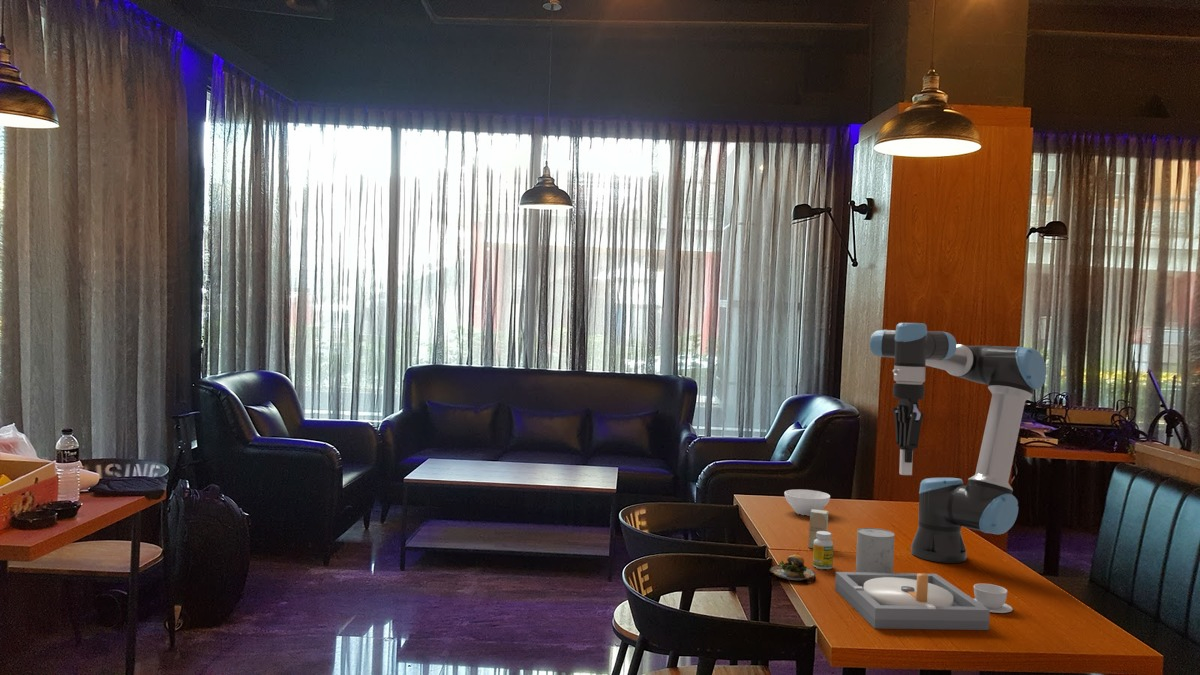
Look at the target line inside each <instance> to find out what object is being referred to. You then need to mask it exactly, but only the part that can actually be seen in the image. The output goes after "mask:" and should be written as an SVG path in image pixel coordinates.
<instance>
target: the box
mask: <svg viewBox="0 0 1200 675" xmlns="http://www.w3.org/2000/svg"><path fill="white" fill-rule="evenodd" d="M828 526H829V510H824V509H822V510H816V509H812V510H811V512H810V516H809V526H808V527H809V528H808V546H807V547H808V548H810V549H813V545H814V540H815V539H817V537H816V532H818V531H826V532H828V529H829V528H828Z"/></svg>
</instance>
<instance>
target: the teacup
mask: <svg viewBox="0 0 1200 675" xmlns="http://www.w3.org/2000/svg"><path fill="white" fill-rule="evenodd" d="M973 595H974V598H973V599H974V600H976V601H977V602H979V603H980V604H982V605H983V606H984V607H986V608H987V609H989V610H990V613H995V614H996V613H997V614H998V613H999V614H1005V613H1011V612H1012V611H1013V610H1014V608H1013V607H1012V606H1011V605H1009V604H1007V603H1006V601H1007V596H1008V589H1006V588H1005V587H1003V586H1000V585H996V584H992V583H975V584H974V585H973Z"/></svg>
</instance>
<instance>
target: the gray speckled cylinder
mask: <svg viewBox="0 0 1200 675" xmlns="http://www.w3.org/2000/svg"><path fill="white" fill-rule="evenodd" d="M856 533H857V534H856V535H857V536H856V560H855V572H870V573H894V557H895V556H894V553H895V533H894V532H893V531H890V530H888V529H884V528H877V527H862V528H861V527H860V528H858V529H857V530H856Z"/></svg>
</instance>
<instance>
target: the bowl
mask: <svg viewBox="0 0 1200 675" xmlns="http://www.w3.org/2000/svg"><path fill="white" fill-rule="evenodd" d="M783 494H784V498H785V500H786V502H787V503H788V505H790V506H791V508H792V509H793V510H794V512H795V513H796V514H797V515H799V514H801V515H800V516H804V515H807V517H810V512H811V510H812V509H816V510H824V508H825V507H826V506H827V505H828V504H829V502H830V499H831V495H830V494H829V493H827V492H823V491H820V490H813V489H800V488H799V489H788V490H785V491H784V493H783Z"/></svg>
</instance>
